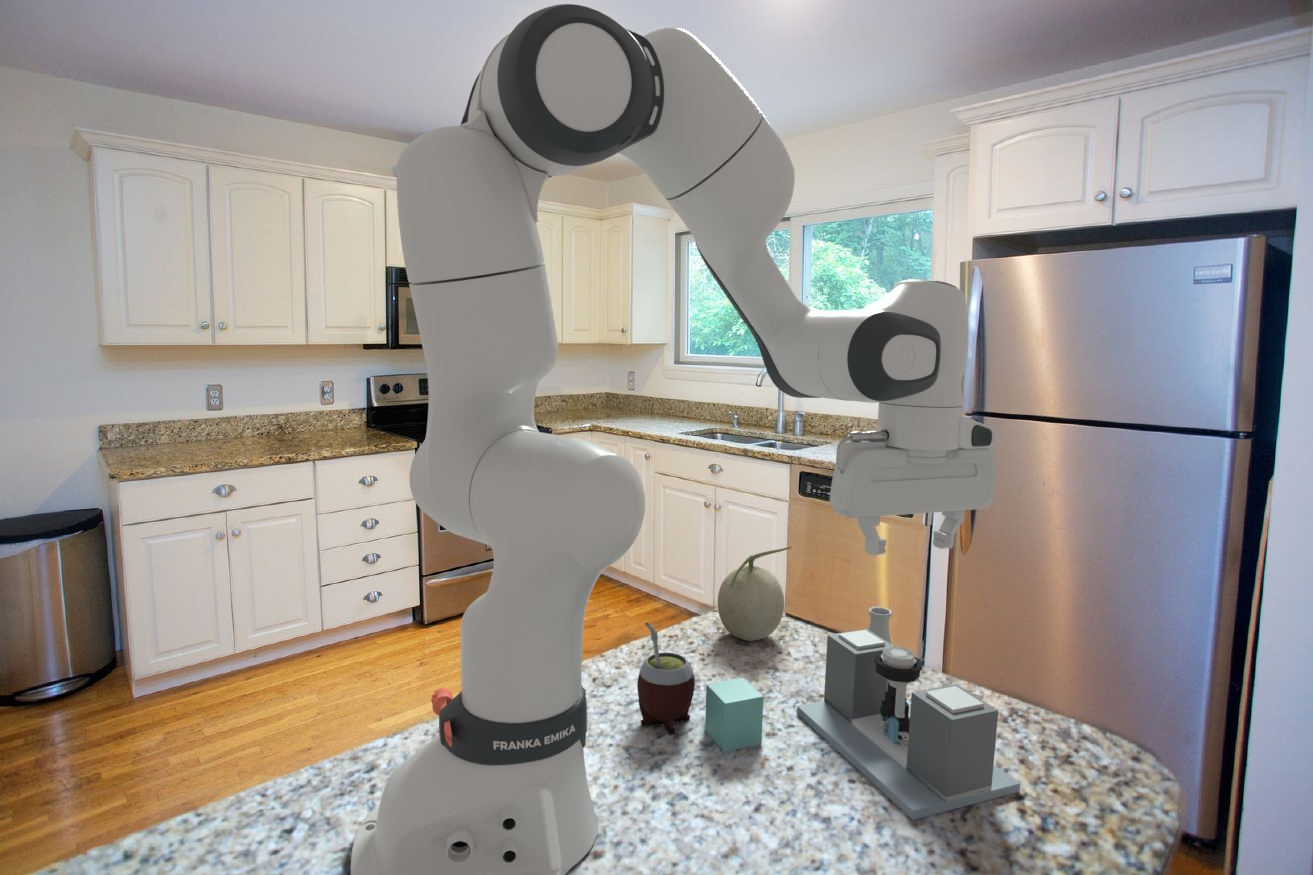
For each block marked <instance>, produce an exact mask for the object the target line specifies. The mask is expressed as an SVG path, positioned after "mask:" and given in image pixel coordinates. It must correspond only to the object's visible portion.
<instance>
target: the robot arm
mask: <svg viewBox="0 0 1313 875" xmlns="http://www.w3.org/2000/svg"><path fill="white" fill-rule="evenodd" d="M466 104H467V105H466V107H465V110H464V113H463V116H462V119H461V122H460V124H459V125H455V126H454V125H452V126H450V125H449V126H445V127H444V126H443V127H440V128H439V127H438V128H435V129H432V130H429V131H427V132H425V133H423V134H421V135H420V136H418V137H416V138H415V139H413V140H412V141H411V142H410V143H408V145H406V147H404V149H403V150H402V152H401V153H400V155H399V158H398V161H397V165H396V204H397V217H398V226H399V236H400V243H401V248H402V256H403V262H404V267H405V272H406V276H407V281H408V283H409V284H408V285H409V286H408V287H409V291H410V294H411V301H412V303H413V309H414V313H415V318H416V323H417V328H418V333H419V338H420V341H421V345H422V346H421V347H422V351H423V356H424V361H425V366H426V374H427V386H428V388H427V389H428V409H427V424H426V432H425V433H426V434H425V439H424V440H423V442H422V443H421V444H420V446H419V448H418V449H417V451H416V452H415V454H414V456H413V459H412V461H411V465H410V469H409V470H410V471H409V487H410V492H411V494H412V495H411V496H412V497H413V500H414V502H415V503H416V505H417V506H418V508H419V509H420V510H421V511H422V512H423V513H424V514H426V515H427V516H428V517H429V518H430V519H432V520H433V521H434V522H435V523H437V524H438V525H440V527H443V528H444V529H445V530H447V531H448V532H450V533H451V534H453V535H456V536H459V537H462V538H465V539H468V540H472V541H475V542H479V543H481V544H484V545H487V546H490V549H491V551H492V553H493V554H492V555H493V569H492V574H491V578H490V580H489V581H490V582H489V585H488V589H487V591H486V592H485V593H483V594H482V595H480V596H478V597H477V598H476V599H475V600H473V601H472V602H471V604H469V605H468V607H466V610H465V612H463V615H462V618H461V620H460V621H461V622H460V626H459V630H460V673H461V674H460V676H461V682H460V683H461V690H460V691H459V692H458V694H457V695H456V696H454V695H453V691H451V690H450V689H449V688H448V687H440V688H437V689H436V690H434V693H432V695H431V699H430V700H431V705H432V712H433V713H434V714H436V715H437V716H438V733H439V734H438V735H436V736H435V737H434V738H433V739H431V740H430V741H429V742H428V743H426V744H425V745H424V746H423V747H421V748H420V749H419V750H417V752H415V753H414V754H412V755H411V756H410V757H408V759H406V760H405V761H403V762H402V763H400V764H399V765H398V766H397V767H396V768H394V770H393V771H392V772H391V773H390V776H389V777H388V779H387V782H386V784H385V786H384V789H383V792H382V795H381V798H380V802H379V806H378V807H376V808H374V809H373V810H372V811H370V812H369V814H368V815H367V816H366V817H365V818H364V820H363V821H362V822H361V824H360V826H359V827H358V829H357V832H356V833H355V837H354V839H353V844H352V850H351V857H350V858H351V859H350V868H349V870H350V871H349V872H350V874H349V875H566V874H567V873H568V872H569V870H571V869H572V868H573V867H574V866H575V865H577V864H578V863H579V862H580V861H581V860H582V859H583V858H584V857H585V856H586V855H587V854H588V853H589V851H590V850H591V849H592V847H593V845H594V843H595V841H596V838H597V834H598V832H599V831H598V830H599V820H598V817H597V813H596V811H595V807H594V804H593V801H592V797H591V793H590V789H589V782H588V777H587V770H586V763H585V762H586V761H585V752H584V751H585V750H584V748H585V746H586V744H587V742H586V741H587V733H588V700H587V693H586V689H585V687H583V684H582V677H583V676H582V670H583V669H582V668H583V664H582V663H583V638H584V637H583V636H584V635H583V634H584V624H585V623H584V621H585V615H586V610H587V608H588V607H587V606H588V602H589V599H590V596H591V594H592V592H593V588H594V586H595V584H596V583H597V581H598V579H599V578H600V576H601V575H602V573H603V572H604V571H605V570H606V569H608V568H609V567H610V566H611V565H614V564H615V563H616V562H618V561H619V560H620V559H621V558H623V556H624V555H626V554H627V552H628V551H629V550H630V549H631V547H632V546H633V545H634V543H635V541H636V540H637V537H638V536H639V533H640V531H641V529H642V526H643V522H644V518H645V512H646V495H645V489H644V485H643V482H642V479H641V476H640V474H639V472H638V470H637V469H636V467H635V466H634V464H633V463H632V462H631V461H630V460H628V459H627V458H625V457H624V456H622V455H620V454H618V453H617V452H614V451H612V450H609V449H608V448H606V447H603V446H602V445H599V444H597V443H595V442H592V441H590V440H587V439H584V438H579V437H573V436H567V435H561V434H560V435H559V434H553V433H549V432H548V433H547V432H540V431H539V429H538V426H537V423H536V419H535V401H536V394H537V389H538V386H539V383H540V381H541V380H542V379H543V378H545V376H547V374H549V373H550V372H551V370H552V369H553V368H554V366H555V364H556V361H557V359H558V355H559V340H558V335H557V328H556V322H555V316H554V312H553V305H552V304H553V303H552V300H551V293H550V287H549V281H548V275H547V270H546V265H545V264H544V263H545V259H544V253H543V248H542V243H541V238H540V235H539V234H540V233H539V230H538V224H537V223H538V222H539V219H538V218H539V217H538V206H539V199H540V195H541V191H542V189H543V187H544V184H545V183H546V181H547V180H548V179H549V178H553V177H558V176H559V177H560V176H567V175H571V174H573V173H577V172H579V171H582V170H583V169H586V168H588V167H590V166H591V165H593V164H596V163H599V162H601V161H604V160H607V159H609V158H611V157H613V156H614V155H617V154H619V155H622V156H623V157H625V158H626V159H628V160H630V161H632V162H633V163H634V164H635V165H636V166H637V167H638V168H639V169H640V170H642V171H644V172H645V174H646V176H647V177H648V179H649V180H650V181H651V182H652V183H653V185H654V186H655V187H656V189H657V190H658V191H659V193H660V194H661V196H663V197H664V199H665V200H666V201H667V203H668V204H669V206H671V208H672V209H673V211H674V212H675V213H676V214H677V215H678V217H679V218H680V220H681V221H682V223H684V225H685V227H686V228H687V229H688V231H689V232H690V234H691V235H692V237H693V239H694V241H695V245H696V249H697V250H698V252H699V255H700V257H701V260H702V261H703V263H704V264H705V266H706V268H707V269H708V271H709V273H710V274H711V276H712V277H713V279H714V280H715V282H716V283H717V284H718V286H719V287H720V289H721V290H722V291H723V293H724V295H725V296H726V298H727V299H728V301H729V302H730V303H731V305H732V307H733V308H734V310H735V311H736V312H737V314H738V315H739V316H740V318H741V320H742V321H743V322H744V324H745V326H746V327H747V328H748V329H749V331H750V333H751V335H752V336H753V339H754V340H755V343H756V344H757V347H758V349H759V351H760V355H761V357H762V361H763V364H764V366H765V367H764V368H765V370H766V372H767V374H768V376H769V378H770V380H771V381H772V383H773V384H774V385H775V387H776V388H777V389H778V390H780V391H781V392H782V393H783V394H785V395H786V396H787V395H788V396H790V397H792V398H797V399H798V398H799V399H806V398H807V399H815V398H816V399H819V398H822V399H830V400H838V401H848V402H849V401H850V402H852V401H853V402H860V403H867V404H868V403H869V404H870V403H871V404H872V403H873V404H876V403H878V410H877V411H878V412H877V423H876V424H877V426H876V430H870V431H859V430H858V431H850V432H849V433H848V435H847V436H844V437H843V438H842V439H841V440H840V442H838V444H837V446H836V453H835V454H836V455H835V456H836V457H835V466H834V470H833V473H832V474H833V475H832V480H831V486H830V492H829V505H830V506H831V508H832V510H833V511H834V512H835V513H836V514H839V515H841V516H843V517H846V518H849V519H857V524H858V526H859V528H860V530H861V532H862V534H863V536H864V537H865V540H864V551H865V553H866V554H868V555H870V556H879V555H885V554H886V551H887V550H886V546H887V539H885V538H882V537H881V536H880V535H879V532H878V530H877V528H876V527H877V526H878V527H879V526H880V524H881V517H887V516H889V517H890V516H902V515H903V516H904V515H905V516H906V515H916V514H917V515H918V514H929V513H930V514H933V513H941V515H942V516H943V517H944V518H943V521H942V523H941V525H940V527H939V530H933V535H932V536H933V540H932V545H933V546H934V547H935V548H938V549H941V550H943V549H952V548H953V547H954V543H955V534H956V533H957V532H958V531H959V529H960V527H961V525H962V524H963V522H964V520H965V514H966V511H971V510H985V509H987V508H988V507H989V506H990V505H991V504H992V503H993V500H994V499H995V494H996V486H997V469H998V466H997V464H998V462H997V457H996V454H995V452H994V450H993V449H992V448H995V447H996V446H997V444H998V442H999V431H998V430H997V428H994V427H992V426H989V425H987V424H984V423H982V422H979V421H976V420H974V419H972V418H969V417H967V416H964V415H963V414H964V413H963V411H964V398H963V392H962V380H963V376H964V373H965V371H966V369H967V364H968V354H969V352H968V351H969V333H970V332H969V313H968V312H969V311H968V306H967V301H966V300H967V299H966V297H965V294H964V292H963V291H962V289H959V288H958V287H957V286H956V285H954V284H951V283H949V282H945V281H942V280H935V279H934V280H933V279H932V280H931V279H925V278H911V279H909V278H908V279H905V280H904V279H903V280H900V281H897V282H896V283H894V285H893V287H892V289H891V290H890V291H889V292H888V293H887V294H885V295H884V296H883V297H881V298H880V299H878V300H876V301H874V302H871V303H870V304H868V305H867V304H866V305H864V306H861V308H859V309H857V308H856V309H848V310H847V309H845V310H843V309H842V310H821V309H817V308H814V307H811V306H809V305H807V304H805V303H804V302H802V301H801V300H799V299H798V298H797V296H796V294H795V293H794V291H793V290H792V288H791V287H790V284H789V283H788V281H787V280H786V279H785V276H784V275H783V274H782V272H781V270H780V269H779V267H778V265H777V263H776V262H775V261H774V258H773V257H772V255H771V254H770V252H769V249H768V245H767V238H768V237H769V236H770V235H771V234H772V232H774V230H775V229H777V228H776V227H777V226H778V225H779V224H780V223H781V221H783V220H782V219H783V218H784V217H785V215H786V213H787V211H788V209H789V207H790V204H791V202H792V200H793V199H792V197H793V194H794V189H795V168H794V165H793V162H792V160H791V157H790V154H789V152H788V150H787V148H786V146H785V144H784V142H783V140H782V139H781V137H780V135H779V134H778V132H777V131H776V130H775V128H774V127H773V126H772V124H771V122H769V120H768V118H767V117H766V116H765V114H764V113H763V112H762V110H761V108H760V107H759V105H758V104H757V103H756V102H755V100H754V99H753V98H752V96H751V95H750V94H749V93H748V91H747V90H746V88H744V86H743V85H742V84H741V83H740V81H739V80H738V79H737V78H736V77H735V76H734V74H733V73H732V72H731V71H730V70H729V69H728V68H727V67H726V65H724V64H723V62H722V61H721V60H719V58H718V57H717V56H716V55H715V54H714V53H713V52H712V50H710V49H709V48H708V47H707V46H706V45H705V44H704V43H702V42H701V41H700V40H699V39H698V38H697V37H696V36H695V35H693V34H692V33H691V32H689V31H688V30H685V29H683V28H680V27H665V28H664V27H663V28H659V29H656V30H654V31H651V32H649V33H647V34H644V35H642V34H638V33H637V32H635V31H632V30H631V29H630V30H629V29H628V28H626V27H624V26H623V25H621V23H619V22H618V21H616V20H615V19H613V18H612V17H610V16H608V15H607V14H605V13H603V12H602V11H599V10H596V9H593V8H591V7H588V6H586V5H582V4H581V5H580V4H576V3H575V4H574V3H562V4H555V5H551V6H547V7H544V8H542V9H539V10H536V11H534V12H532V13H531V14H529V15H528V16H526V17H525V18H523V19H522V20H521V21H520V22H519V23H518V24H516V26H515V27H514V28H513V29H512V31H511V32H510V33H509V34H507V35H505V36H504V37H503V38H502V39H500V41H499V42H498V43H497V44H496V45H495V46H494V47H493V49H492V50H491V52H490V53H489V54H488V56H487V58H486V60H485V61H484V63H483V65H482V68H481V70H480V71H479V73H478V75H477V77H476V79H475V81H474V83H473V86H472V88H471V91H470V94H469V97H468V100H467V103H466Z"/></svg>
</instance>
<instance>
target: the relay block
mask: <svg viewBox="0 0 1313 875" xmlns="http://www.w3.org/2000/svg"><path fill="white" fill-rule="evenodd" d="M705 686H706V688H705V690H706V692H705V693H706V694H705V719H704V720H705V721H704V722H705V723H704V731H705V732H706V733H707V734H708V735H709V736H710V738H711V739H712V740H713V741H714V742H715V743H716V745H717V746H718V747H719V748H720V749H721V751H722V752H728V751H729V752H730V751H734V750H738V749H744V748H747V747H753V746H757V745H761V744H762V741H763V740H762V739H763V737H762V736H763V716H764V714H763V712H764V695H762V694H761V693H760V692H759V691H758V690H757V689H756V688H755V687H754V686H753V685H752V684H751V683H750V682H749V681H747V680H746V678H743V677H739V678H734V679H728V680H722V681H717V682H716V681H715V682H710V683H706V685H705Z"/></svg>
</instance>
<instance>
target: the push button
mask: <svg viewBox="0 0 1313 875" xmlns="http://www.w3.org/2000/svg"><path fill="white" fill-rule="evenodd" d="M874 662H875V664H876V672H877V673H878V674H879V675H881V676H882V677H883V678H884V679H886V680H887V692H885V701H882V703H881V707H880V731H881V733H882V734H883V730H885V732H886V733H887V735H888V736H889V738H890V740H891V741H892V743H901V745H902V746H903V748H908V738H909V736H908V735H909V724H910V718H909V717H908V714H909V705H910V704H909V703H908V702H907V698H906V695H907V686H908V685H909V684H910V683H912V682H915V681H917V679H918V678H919V677H921V671H922V670H923V667H924V666H923V662H922V660H921V659H919V658H918V657H916V655H915V652H914V651H912V650H910V649H909V648H907V647H902V646H895V645H893V646H890V647H885V648H884V649H883V652H880V653H877V654H876V655H875V657H874ZM908 704H909V705H908ZM881 726H882V729H881ZM904 744H906V745H907V746H905V745H904Z"/></svg>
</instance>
